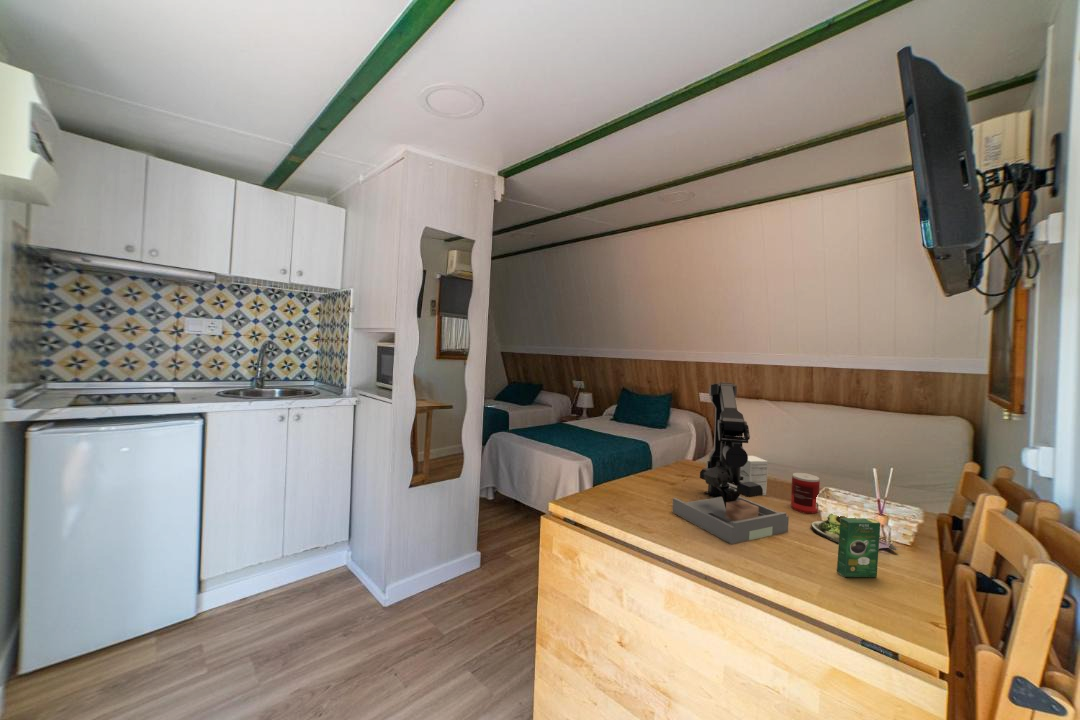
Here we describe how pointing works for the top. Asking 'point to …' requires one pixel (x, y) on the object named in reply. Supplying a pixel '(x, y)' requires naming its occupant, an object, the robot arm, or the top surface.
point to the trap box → (714, 520)
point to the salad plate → (833, 528)
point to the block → (740, 510)
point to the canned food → (804, 492)
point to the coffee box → (858, 547)
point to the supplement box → (755, 472)
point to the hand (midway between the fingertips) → (728, 509)
